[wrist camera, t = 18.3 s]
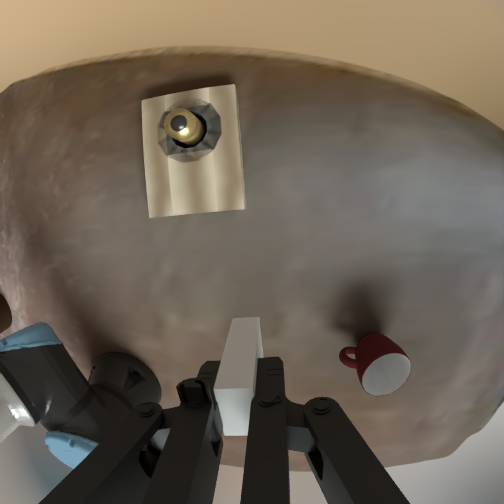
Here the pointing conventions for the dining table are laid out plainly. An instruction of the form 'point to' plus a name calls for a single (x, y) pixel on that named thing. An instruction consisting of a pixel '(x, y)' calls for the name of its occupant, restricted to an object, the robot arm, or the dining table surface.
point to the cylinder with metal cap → (184, 127)
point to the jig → (194, 155)
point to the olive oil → (4, 315)
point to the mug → (378, 364)
